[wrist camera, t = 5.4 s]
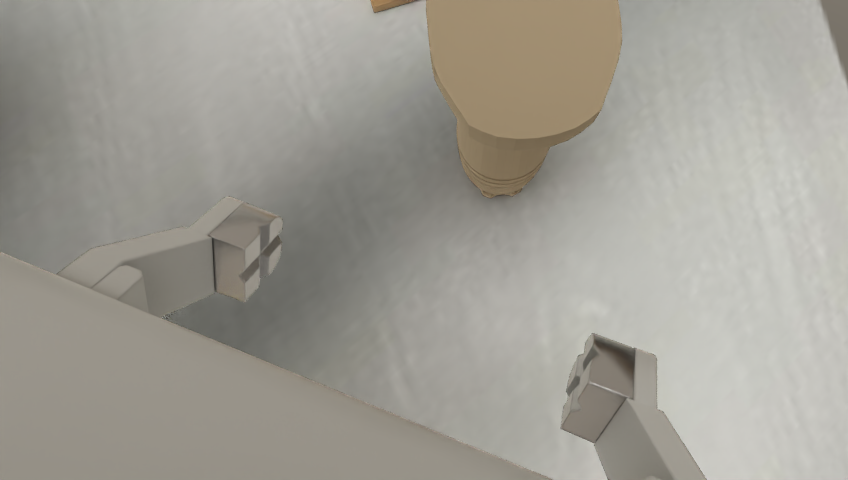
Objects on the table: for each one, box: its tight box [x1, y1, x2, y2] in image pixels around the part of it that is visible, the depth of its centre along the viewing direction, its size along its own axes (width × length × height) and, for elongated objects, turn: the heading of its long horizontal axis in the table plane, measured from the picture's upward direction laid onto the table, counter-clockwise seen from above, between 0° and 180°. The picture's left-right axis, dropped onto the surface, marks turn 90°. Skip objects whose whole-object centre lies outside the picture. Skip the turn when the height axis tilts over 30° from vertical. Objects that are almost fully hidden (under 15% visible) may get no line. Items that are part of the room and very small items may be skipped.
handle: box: [426, 0, 622, 198], centre depth 22 cm, size 5×6×15 cm
